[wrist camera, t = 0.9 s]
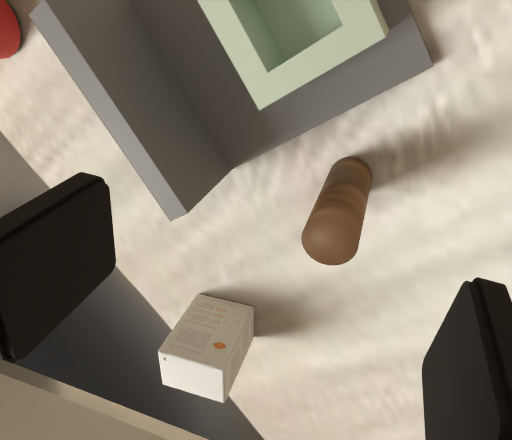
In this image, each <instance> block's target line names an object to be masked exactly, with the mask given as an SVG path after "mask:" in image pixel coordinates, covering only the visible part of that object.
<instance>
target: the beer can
mask: <svg viewBox="0 0 512 440" xmlns="http://www.w3.org/2000/svg"><path fill="white" fill-rule="evenodd" d="M20 39H21V34H20V26H19V23H18V20H17V17H16V15H15V14H14V12H13V10H12V8H11V7H10V6H9V5H8V3H7V2H6V1H5V0H0V59H3V58H9V57H11V56H12V55H14V54H15V53H16V51H17V49H18V48H19V45H20Z"/></svg>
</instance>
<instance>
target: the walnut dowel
mask: <svg viewBox="0 0 512 440" xmlns="http://www.w3.org/2000/svg"><path fill="white" fill-rule="evenodd" d="M371 181H372V173H371V170H370V168H369V167H368V165H367V164H366V163H365V162H363V161H362V160H360V159H357V158H353V157H348V158H343V159H340V160H339V161H337V162H336V163H335V164H334V165H333V166H332V168H331V170H330V172H329V174H328V176H327V179H326V181H325V183H324V185H323V188H322V190H321V192H320V194H319V196H318V199H317V201H316V203H315V205H314V208H313V210H312V212H311V214H310V216H309V219H308V221H307V223H306V225H305V228H304V230H303V232H302V244H303V247H304V249H305V251H306V252H307V254H308V255H309V256H310V257H311V258H313V259H314V260H316V261H317V262H320V263H322V264H326V265H340V264H343V263H346V262H348V261H349V260H351V259H352V258H353V257H354V255H355V254H356V252H357V249H358V245H359V240H360V235H361V230H362V225H363V220H364V215H365V211H366V206H367V201H368V196H369V191H370V186H371Z"/></svg>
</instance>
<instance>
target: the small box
mask: <svg viewBox="0 0 512 440" xmlns="http://www.w3.org/2000/svg"><path fill="white" fill-rule="evenodd" d="M253 335H254V307H253V306H248V305H244V304H240V303H236V302H232V301H227V300H223V299H219V298H215V297H210V296H206V295H202V294H197V295H196V297H195V298H194V300H193V301H192V303H191V304H190V305H189V307H188V308H187V310H186V311H185V313H184V314H183V316H182V317H181V319H180V320H179V321H178V323H177V324H176V326H175V327H174V329H173V330H172V331H171V333H170V334H169V336H168V337H167V338H166V340H165V341H164V343H163V344H162V346H161V347H160V349H159V350H158V354H159V362H160V369H161V376H162V381H163V385H167V386H170V387H173V388H177V389H180V390H183V391H187V392H190V393H193V394H196V395H199V396H203V397H206V398H209V399H212V400H216V401H219V402H222V403H224V402H225V401H226V399H227V396H228V394H229V392H230V390H231V387H232V385H233V383H234V380H235V378H236V376H237V374H238V372H239V370H240V367H241V365H242V363H243V360H244V358H245V356H246V354H247V351H248V349H249V347H250V345H251V342H252V340H253Z"/></svg>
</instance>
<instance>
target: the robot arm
mask: <svg viewBox="0 0 512 440" xmlns="http://www.w3.org/2000/svg"><path fill="white" fill-rule="evenodd" d="M115 264H116V257H115V246H114V235H113V224H112V213H111V202H110V191H109V187H108V185H107V184H105V181H104V179H103V178H101V177H99V176H95V175H91V174H87V173H83V172H80V173H78V174H76V175H74V176H72V177H71V178H69V179H67V180H65V181H64V182H62V183H60V184H58V185H57V186H55V187H53V188H51V189H50V190H48V191H46V192H45V193H43V194H41V195H39V196H38V197H36V198H34V199H33V200H31V201H29V202H27V203H25V204H24V205H22V206H20V207H18V208H17V209H15V210H13V211H11V212H10V213H8V214H6V215H4V216H3V217H1V218H0V440H208V439H205V438H203V437H200V436H197V435H195V434H192V433H190V432H187V431H184V430H182V429H180V428H177V427H175V426H172V425H169V424H167V423H164V422H162V421H159V420H156V419H154V418H151V417H149V416H146V415H144V414H141V413H139V412H136V411H134V410H131V409H129V408H126V407H123V406H121V405H118V404H116V403H113V402H110V401H108V400H105V399H103V398H100V397H97V396H95V395H93V394H90V393H87V392H85V391H82V390H80V389H77V388H74V387H72V386H69V385H67V384H64V383H62V382H59V381H56V380H54V379H51V378H49V377H46V376H43V375H41V374H38V373H36V372H33V371H30V370H28V369H25V368H22V367H20V366H17V365H15V364H14V363H15V362H16V361H17V360H18V359H23V358H25V357H26V356H27V355H28V354H29V353H30V352H31V351H32V350H33V349H34V348H35V347H36V346H37V345H38V344H39V343H41V342H42V340H44V339H45V338H46V337H47V336H48V335H49V334H50V333H51V332H52V331H53V330H54V329H55V327H57V326H58V325H59V324H60V323H61V322H62V321H63V320H64V319H65V318H66V317H67V316H68V315H69V314H70V313H71V312H72V311H73V310H74V309H75V308H76V307H77V306H78V305H79V304H80V303H81V302H82V301H83V300H84V299H85V298H86V297H87V296H88V295H89V294H90V293H91V292H92V291H93V290H94V289H95V288H96V287H97V286H98V285H99V284H100V283H101V282H102V281H104V280H105V278H107V277H108V276H109V275H110V274H111V272H112V271H113V269H114V267H115ZM422 384H423V401H424V419H425V437H426V440H512V302H511V299H510V296H509V293H508V290H507V288H506V286H505V285H504V284H501V283H497V282H493V281H489V280H486V279H482V278H475V279H474V280H473V281H472V282H469V281H465V282H464V283H463V284H462V286H461V288H460V290H459V292H458V294H457V296H456V298H455V299H454V301H453V303H452V305H451V307H450V309H449V311H448V313H447V315H446V317H445V319H444V321H443V323H442V325H441V327H440V329H439V330H438V332H437V334H436V336H435V338H434V340H433V342H432V344H431V346H430V348H429V350H428V352H427V354H426V356H425V358H424V361H423V365H422Z"/></svg>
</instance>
